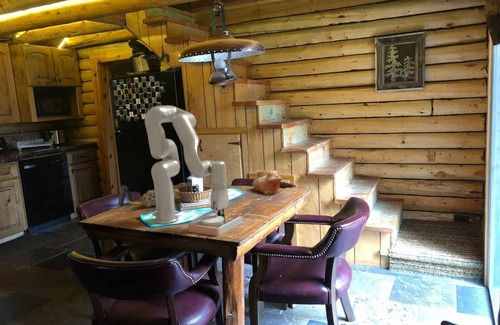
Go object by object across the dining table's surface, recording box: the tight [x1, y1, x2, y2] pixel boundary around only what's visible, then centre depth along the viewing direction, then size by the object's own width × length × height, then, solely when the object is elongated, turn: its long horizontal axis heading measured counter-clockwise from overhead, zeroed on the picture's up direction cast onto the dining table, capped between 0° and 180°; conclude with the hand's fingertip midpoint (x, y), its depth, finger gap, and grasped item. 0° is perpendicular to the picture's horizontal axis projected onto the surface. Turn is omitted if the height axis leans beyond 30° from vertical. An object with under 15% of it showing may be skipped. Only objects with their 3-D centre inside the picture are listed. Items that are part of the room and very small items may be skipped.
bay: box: [187, 212, 243, 237], centre depth 196 cm, size 17×22×4 cm
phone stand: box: [117, 184, 135, 208], centre depth 248 cm, size 9×6×12 cm, turn 123°
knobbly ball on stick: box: [126, 189, 156, 208], centre depth 238 cm, size 22×10×10 cm, turn 130°
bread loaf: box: [252, 169, 283, 196], centre depth 267 cm, size 14×26×15 cm, turn 29°
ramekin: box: [200, 215, 225, 228], centre depth 193 cm, size 11×11×5 cm
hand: (221, 221), depth 200 cm, fingers closed
